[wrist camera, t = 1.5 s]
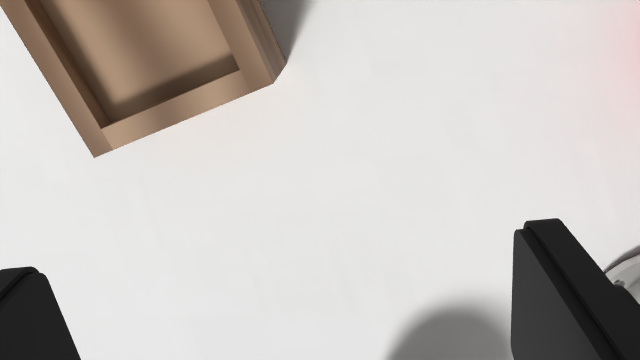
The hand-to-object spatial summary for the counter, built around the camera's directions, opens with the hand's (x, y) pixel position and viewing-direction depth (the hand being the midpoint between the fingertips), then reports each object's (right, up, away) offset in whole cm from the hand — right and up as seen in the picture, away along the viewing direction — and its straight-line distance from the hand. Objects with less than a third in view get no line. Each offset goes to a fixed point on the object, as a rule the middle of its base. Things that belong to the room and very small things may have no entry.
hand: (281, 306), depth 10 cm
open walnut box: (-10, +14, +26) cm, 31 cm away
